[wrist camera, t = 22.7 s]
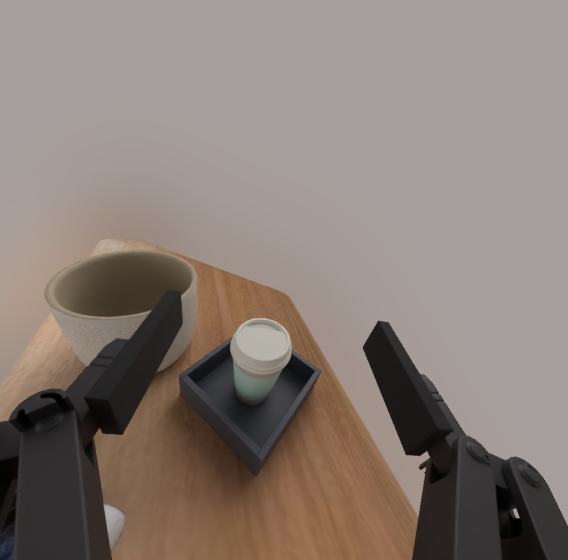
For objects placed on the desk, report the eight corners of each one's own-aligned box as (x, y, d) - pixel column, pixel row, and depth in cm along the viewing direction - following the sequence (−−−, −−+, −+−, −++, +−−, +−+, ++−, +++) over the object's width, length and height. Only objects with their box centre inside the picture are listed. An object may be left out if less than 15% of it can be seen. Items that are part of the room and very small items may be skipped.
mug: (20, 486, 22) (-35, 446, 17) (156, 467, 25) (144, 428, 20) (-97, 679, 14) (-268, 714, 9) (120, 615, 18) (86, 614, 12)
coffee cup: (287, 383, 37) (305, 335, 31) (256, 427, 30) (270, 378, 24) (249, 356, 40) (258, 307, 34) (214, 390, 33) (216, 338, 27)
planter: (81, 332, 38) (49, 256, 30) (182, 307, 48) (179, 245, 40) (82, 421, 28) (34, 341, 20) (211, 365, 38) (214, 298, 30)
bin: (313, 386, 38) (321, 370, 36) (256, 476, 27) (261, 461, 24) (249, 338, 45) (252, 321, 42) (180, 393, 33) (178, 375, 30)
